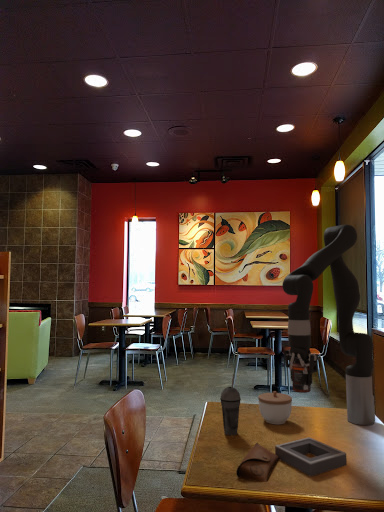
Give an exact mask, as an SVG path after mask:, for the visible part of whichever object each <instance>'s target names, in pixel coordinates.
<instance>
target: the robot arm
mask: <svg viewBox="0 0 384 512" xmlns="http://www.w3.org/2000/svg"><path fill="white" fill-rule="evenodd" d="M357 240H358V233H357V229H356V228H355V227H354V226H353V225H351V224H340V225H335V226H329V227H327V228H326V229H324V231H323V242H324V243H323V244H324V247H323V248H321V249H319V250H318V251H315V252H314V253H313V254H311V256H309V257H308V258H307V260H305V262H304V263H303V264H302V265H301V266H299V267H297V268H296V269H294V270H293V271H291V272H290V273H288V274H287V276H285V278H284V279H283V281H282V290H283V292H284V293H285V294H286V295H289V296H296V299H295V301H294V302H290V303H289V304H288V306H287V307H288V308H287V312H288V313H287V317H288V320H287V321H288V323H287V335H288V337H287V338H288V339H287V340H288V342H287V343H288V347H289V349H284V350H283V355H284V356H283V357H284V364H285V365H284V366H285V368H288V369H289V371H290V372H289V373H290V380H291V382H292V364H293V363H294V362H295V361H294V359H295V357H298V359H299V360H300V363H301V366H302V367H303V368H304V371H305V373H306V374H305V384H306V385H307V386H308V385H311V386H312V385H313V373H317V372H318V364H319V363H318V361H319V355H318V354H317V353H316V354H314V353H312V352H311V347H312V331H311V329H312V328H311V321H310V305H311V302H312V301H311V300H312V297H313V293H314V283H313V282H314V281H316V280H317V279H318V278H319V277H320V276H322V274H323V273H324V271H325V270H326V269H327V268H328V267H329V268H330V273H331V279H332V286H333V287H332V288H333V293H334V298H335V299H334V300H335V305H336V311H337V313H336V314H337V321H338V323H337V324H338V340H339V348H340V350H341V352H342V353H343V354H344V355H345V356H350V357H353V358H354V357H355V363H354V364H353V363H352V364H350V365H348V366H347V365H346V367H345V390H346V391H345V393H346V414H347V415H346V417H347V418H346V419H347V422H349V423H351V424H356V425H360V426H372V425H374V423H375V422H376V410H375V409H376V408H375V407H376V406H375V396H374V395H373V377H372V376H373V375H372V373H373V368H374V344H373V339H372V337H371V335H369V334H368V333H366V332H365V333H364V332H356V331H354V326H353V325H354V322H353V321H354V315H355V313H356V311H357V309H358V307H359V304H360V301H361V293H360V286H359V282H358V279H357V277H356V276H355V275H354V274H353V272H352V271H351V270H350V268H349V267H348V265H347V264H346V263H345V260H344V257H343V254H345V252H347V251H348V250H350V249H351V248H353V246H354V245H356V244H357ZM305 363H307V364H305ZM307 366H308V367H309V370H308V369H307Z"/></svg>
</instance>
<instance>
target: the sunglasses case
mask: <svg viewBox="0 0 384 512" xmlns="http://www.w3.org/2000/svg"><path fill="white" fill-rule="evenodd" d="M278 461H280V459H279V456H277V455H276V454H275V453H274V452H272V451H271V450H268V449H267V448H265V447H264V446H262V445H260V444H259V443H258V442H256V443H255V444H254V445H253V447H252V448H251V449H250V450H249V451H248V453H247V454H246V455H245V456H244V458H243V459H242V461H241V462H240V464H239V465H238V466H237V468H236V476H237V478H239V479H242V480H249V481H254V480H255V482H260V483H265V482H266V483H267V482H268V480H269V476H270V475H271V472H272V470H273V469H274V467H275V465H276V463H278Z"/></svg>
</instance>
